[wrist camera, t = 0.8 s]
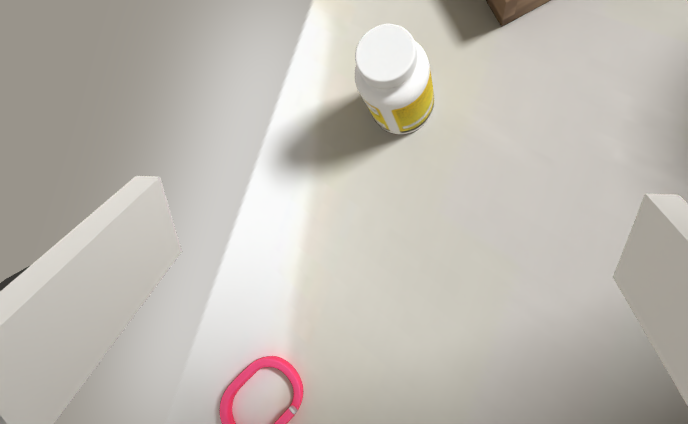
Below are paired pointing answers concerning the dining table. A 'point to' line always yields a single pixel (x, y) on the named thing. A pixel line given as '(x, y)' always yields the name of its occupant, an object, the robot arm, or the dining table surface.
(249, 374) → the fitness band
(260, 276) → the dining table surface
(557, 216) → the dining table surface
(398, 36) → the supplement bottle
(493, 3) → the walnut tray
